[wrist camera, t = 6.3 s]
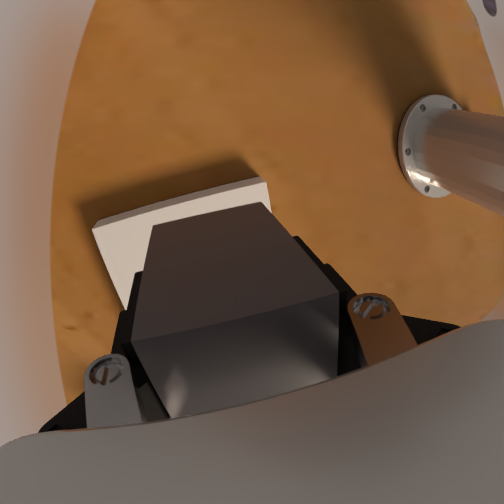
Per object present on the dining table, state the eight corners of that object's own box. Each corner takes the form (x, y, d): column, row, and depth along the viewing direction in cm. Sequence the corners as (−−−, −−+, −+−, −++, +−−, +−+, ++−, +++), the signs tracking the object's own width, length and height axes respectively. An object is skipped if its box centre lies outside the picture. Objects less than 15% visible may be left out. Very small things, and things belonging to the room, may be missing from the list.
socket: (259, 176, 30) (267, 183, 27) (283, 312, 37) (291, 327, 34) (98, 220, 28) (90, 231, 25) (151, 346, 35) (150, 363, 32)
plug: (255, 195, 14) (338, 291, 7) (268, 282, 16) (334, 411, 8) (154, 217, 13) (130, 341, 6) (179, 303, 15) (190, 448, 8)
